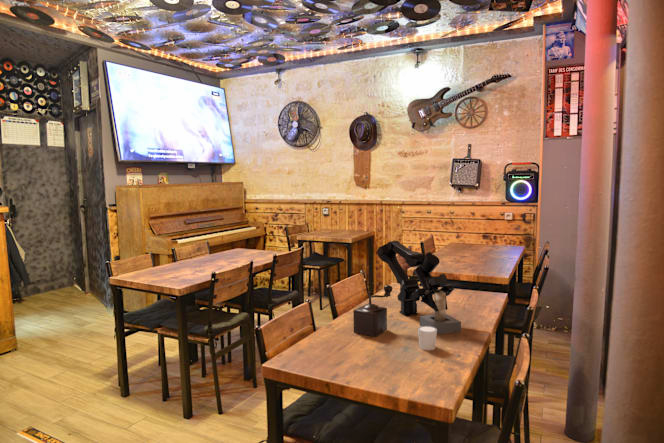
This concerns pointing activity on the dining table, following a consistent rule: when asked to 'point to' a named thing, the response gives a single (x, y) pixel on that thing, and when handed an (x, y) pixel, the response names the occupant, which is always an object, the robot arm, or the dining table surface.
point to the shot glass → (427, 337)
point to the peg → (440, 306)
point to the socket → (441, 324)
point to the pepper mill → (371, 316)
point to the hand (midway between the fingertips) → (442, 310)
